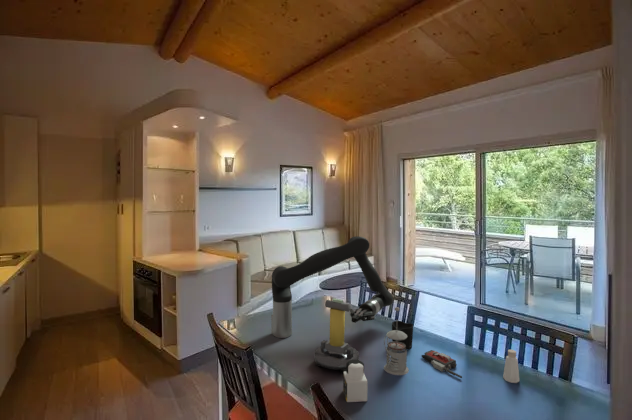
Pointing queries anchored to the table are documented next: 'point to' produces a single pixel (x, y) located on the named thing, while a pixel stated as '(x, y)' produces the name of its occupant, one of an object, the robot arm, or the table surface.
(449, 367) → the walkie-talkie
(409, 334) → the pen holder
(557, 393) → the table surface
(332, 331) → the yellow mallet
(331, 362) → the dark grey round stand
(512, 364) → the pepper shaker
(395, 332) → the french press
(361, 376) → the medicine bottle
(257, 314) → the table surface
